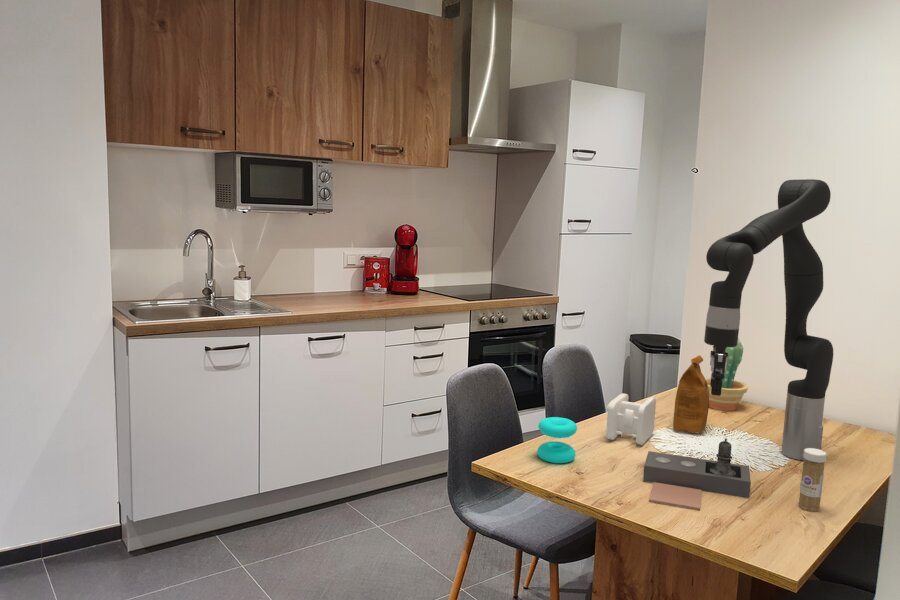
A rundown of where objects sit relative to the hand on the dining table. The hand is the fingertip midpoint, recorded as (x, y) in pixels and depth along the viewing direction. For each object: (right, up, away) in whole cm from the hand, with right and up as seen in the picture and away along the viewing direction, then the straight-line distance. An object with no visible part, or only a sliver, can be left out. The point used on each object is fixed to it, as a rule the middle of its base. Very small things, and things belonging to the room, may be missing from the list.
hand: (715, 391), depth 173 cm
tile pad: (-12, -24, -8) cm, 28 cm away
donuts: (-36, -20, +15) cm, 44 cm away
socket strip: (-4, -22, +2) cm, 23 cm away
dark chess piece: (+2, -23, 0) cm, 23 cm away
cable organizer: (-13, -18, +33) cm, 39 cm away
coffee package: (+8, -17, +43) cm, 47 cm away
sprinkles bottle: (+17, -25, -11) cm, 32 cm away
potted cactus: (+27, -14, +68) cm, 74 cm away
